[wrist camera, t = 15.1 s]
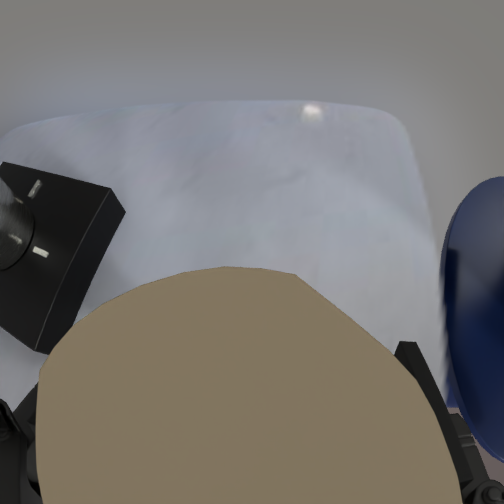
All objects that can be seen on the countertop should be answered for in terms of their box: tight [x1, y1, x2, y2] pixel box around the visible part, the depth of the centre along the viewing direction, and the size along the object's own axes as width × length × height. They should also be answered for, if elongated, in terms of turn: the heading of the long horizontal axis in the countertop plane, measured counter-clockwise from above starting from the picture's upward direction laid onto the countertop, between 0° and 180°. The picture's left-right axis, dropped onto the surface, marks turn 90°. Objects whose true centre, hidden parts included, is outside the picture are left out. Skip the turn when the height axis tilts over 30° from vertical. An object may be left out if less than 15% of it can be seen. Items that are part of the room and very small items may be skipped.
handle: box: [36, 267, 463, 504], centre depth 9 cm, size 5×6×15 cm
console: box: [0, 162, 126, 355], centre depth 19 cm, size 13×11×3 cm
